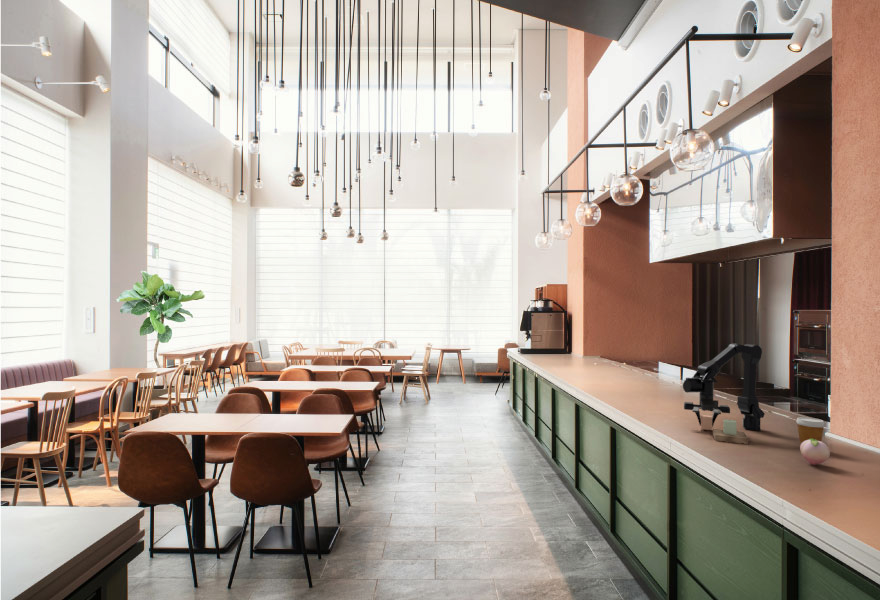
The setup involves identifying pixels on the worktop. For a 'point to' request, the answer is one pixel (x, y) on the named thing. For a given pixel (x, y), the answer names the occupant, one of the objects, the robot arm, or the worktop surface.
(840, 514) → the worktop surface
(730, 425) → the green block
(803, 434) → the disposable coffee cup
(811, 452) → the decorative fruit
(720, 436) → the walnut base
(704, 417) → the terracotta block
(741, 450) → the worktop surface
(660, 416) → the worktop surface
